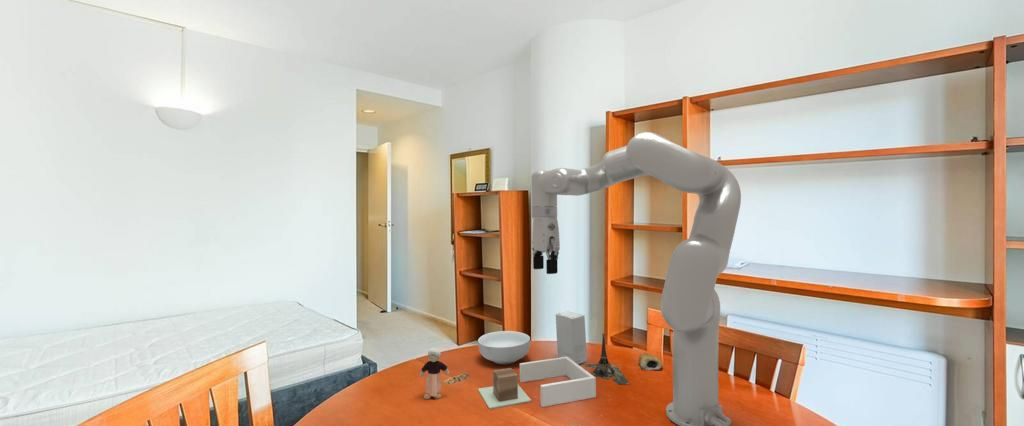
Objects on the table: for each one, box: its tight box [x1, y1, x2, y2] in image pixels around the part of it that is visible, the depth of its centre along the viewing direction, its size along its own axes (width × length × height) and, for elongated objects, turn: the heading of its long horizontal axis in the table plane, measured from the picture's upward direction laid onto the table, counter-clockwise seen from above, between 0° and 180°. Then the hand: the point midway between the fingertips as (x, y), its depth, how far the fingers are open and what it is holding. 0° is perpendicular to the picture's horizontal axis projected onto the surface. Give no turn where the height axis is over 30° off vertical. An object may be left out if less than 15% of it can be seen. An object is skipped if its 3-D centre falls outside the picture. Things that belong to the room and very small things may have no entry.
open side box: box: [519, 357, 597, 408], centre depth 108 cm, size 16×15×5 cm
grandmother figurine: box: [418, 347, 450, 400], centre depth 104 cm, size 8×4×13 cm, turn 105°
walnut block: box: [492, 367, 519, 402], centre depth 103 cm, size 5×5×6 cm
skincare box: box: [555, 310, 588, 365], centre depth 128 cm, size 8×6×15 cm
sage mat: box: [477, 384, 532, 410], centre depth 104 cm, size 11×11×1 cm
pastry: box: [637, 352, 663, 371], centre depth 124 cm, size 9×7×4 cm
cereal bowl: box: [477, 330, 531, 365], centre depth 129 cm, size 17×17×7 cm
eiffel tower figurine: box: [584, 330, 630, 386], centre depth 117 cm, size 15×10×13 cm
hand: (544, 271), depth 118 cm, fingers open, 9 cm apart
